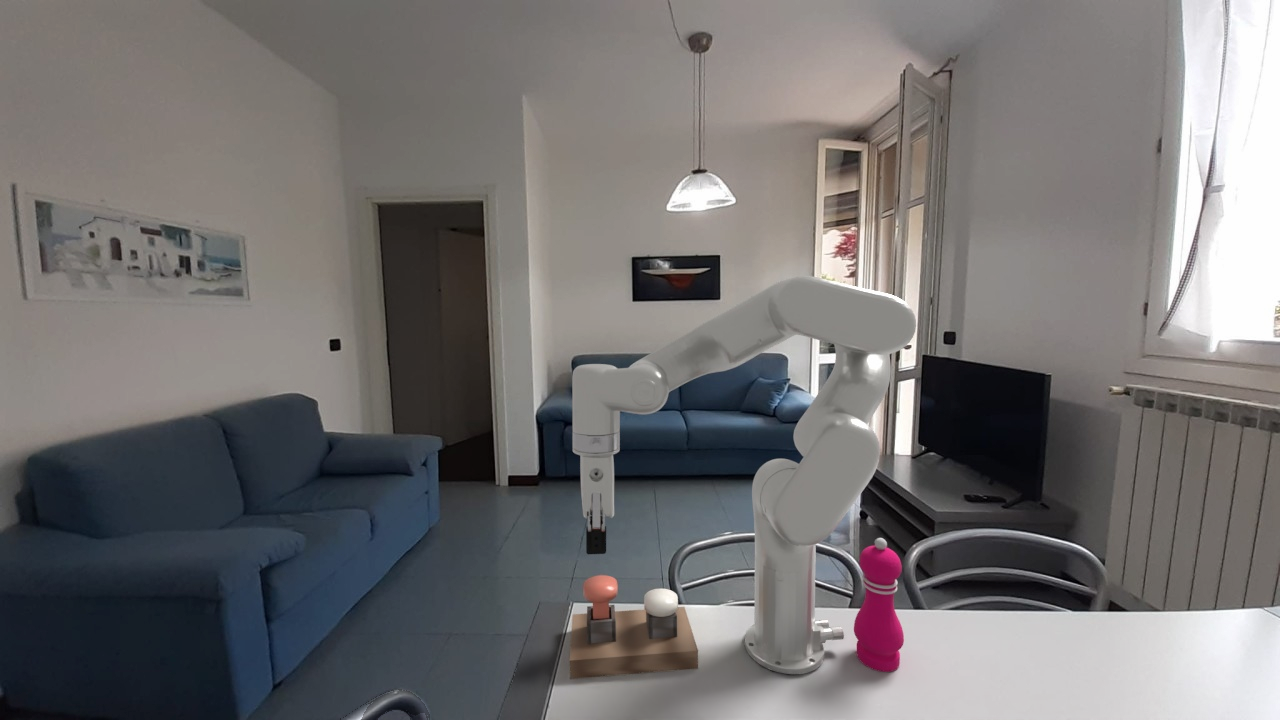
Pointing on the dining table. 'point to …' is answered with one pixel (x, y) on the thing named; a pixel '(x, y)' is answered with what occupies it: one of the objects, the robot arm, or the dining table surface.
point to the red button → (600, 594)
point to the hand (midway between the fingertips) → (596, 551)
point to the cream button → (661, 602)
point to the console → (630, 643)
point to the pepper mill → (879, 609)
